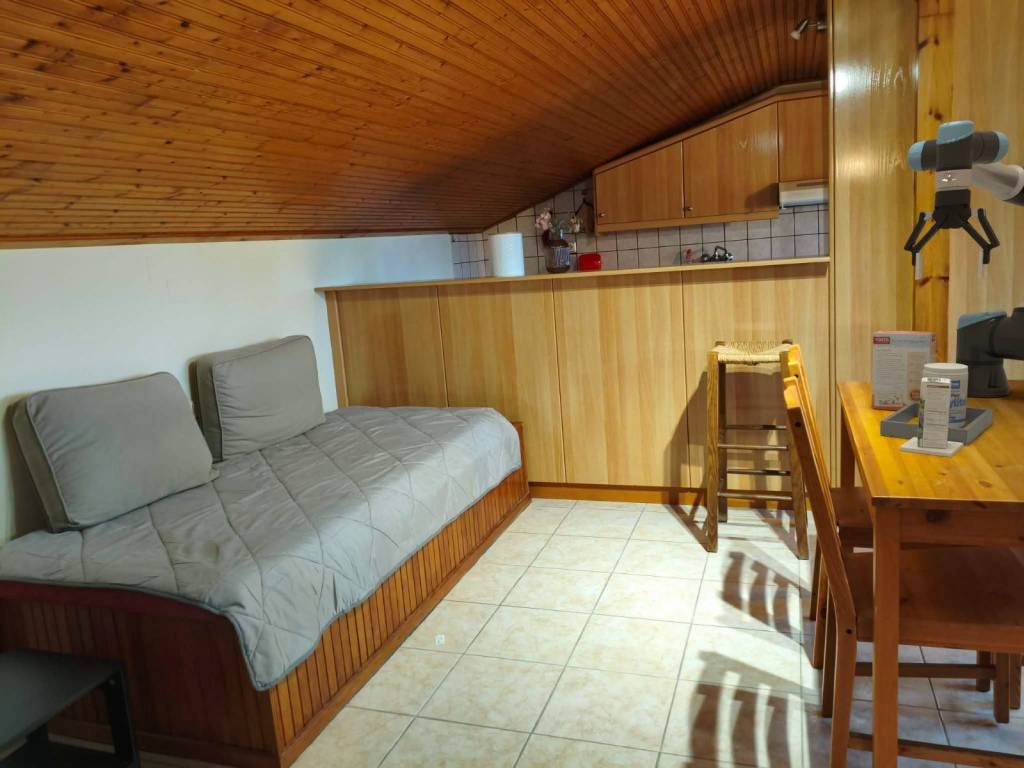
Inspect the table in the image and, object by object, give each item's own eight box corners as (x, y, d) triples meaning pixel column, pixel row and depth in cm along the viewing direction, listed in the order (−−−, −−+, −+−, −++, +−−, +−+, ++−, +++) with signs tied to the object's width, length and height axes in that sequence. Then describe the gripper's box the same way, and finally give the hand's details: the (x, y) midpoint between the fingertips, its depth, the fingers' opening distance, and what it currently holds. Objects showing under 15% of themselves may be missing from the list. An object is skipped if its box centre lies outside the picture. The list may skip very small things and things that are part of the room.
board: (913, 440, 174) (913, 437, 174) (963, 446, 167) (963, 442, 167) (899, 450, 167) (899, 447, 167) (950, 457, 160) (950, 453, 160)
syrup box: (917, 440, 171) (920, 376, 168) (948, 442, 168) (951, 377, 166) (917, 447, 166) (919, 381, 163) (948, 449, 163) (951, 382, 161)
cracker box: (934, 409, 202) (937, 330, 198) (928, 414, 197) (931, 333, 194) (877, 404, 211) (880, 329, 207) (870, 409, 207) (872, 331, 203)
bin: (911, 415, 197) (911, 402, 196) (992, 423, 185) (993, 409, 184) (880, 435, 180) (880, 420, 179) (966, 445, 168) (967, 430, 167)
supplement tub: (946, 431, 180) (949, 370, 177) (911, 424, 188) (913, 365, 186) (974, 426, 184) (978, 365, 181) (939, 418, 192) (941, 360, 190)
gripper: (892, 193, 189) (889, 280, 193) (1010, 184, 172) (1005, 279, 176) (901, 194, 194) (898, 278, 198) (1017, 184, 177) (1012, 277, 181)
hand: (948, 279), depth 187 cm, fingers open, 13 cm apart
